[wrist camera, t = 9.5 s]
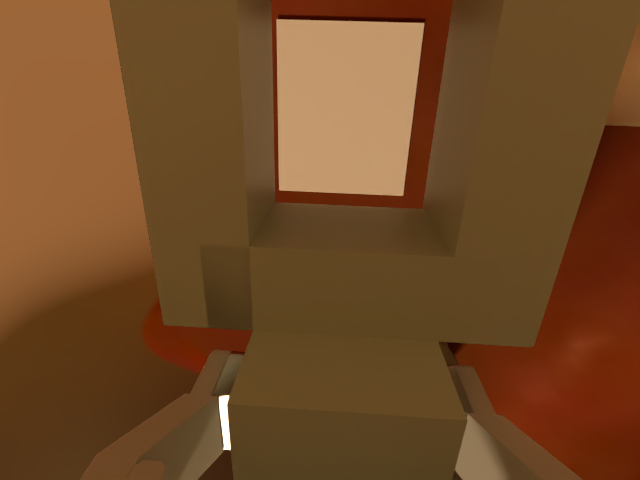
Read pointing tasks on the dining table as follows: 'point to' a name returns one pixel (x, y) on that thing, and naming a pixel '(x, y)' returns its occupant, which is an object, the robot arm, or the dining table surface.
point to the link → (364, 224)
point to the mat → (346, 104)
